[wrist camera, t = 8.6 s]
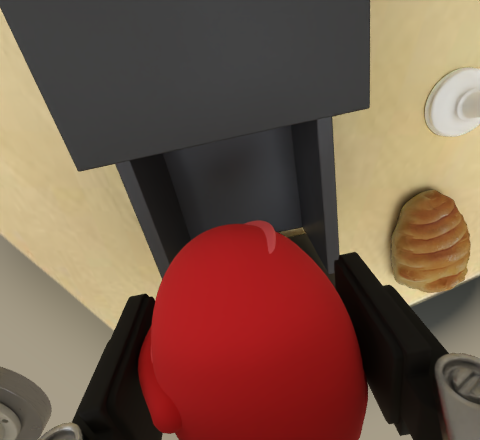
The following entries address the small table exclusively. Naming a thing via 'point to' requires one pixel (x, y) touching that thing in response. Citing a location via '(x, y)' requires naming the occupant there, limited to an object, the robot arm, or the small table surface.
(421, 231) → the pastry
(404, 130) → the small table surface
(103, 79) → the cabinet
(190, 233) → the drawer
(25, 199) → the small table surface
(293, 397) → the red rounded lump
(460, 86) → the chess piece
